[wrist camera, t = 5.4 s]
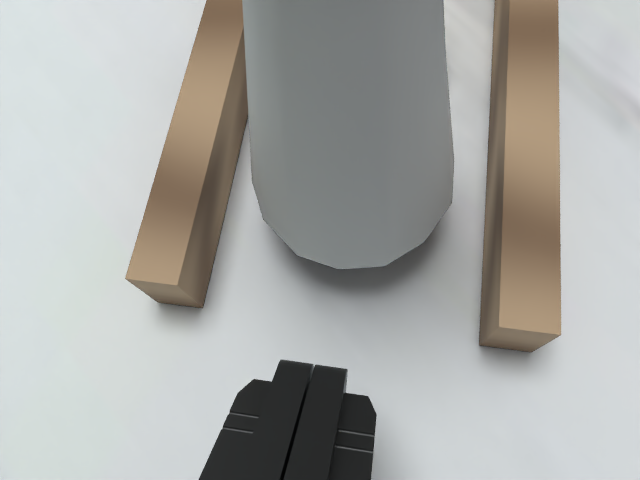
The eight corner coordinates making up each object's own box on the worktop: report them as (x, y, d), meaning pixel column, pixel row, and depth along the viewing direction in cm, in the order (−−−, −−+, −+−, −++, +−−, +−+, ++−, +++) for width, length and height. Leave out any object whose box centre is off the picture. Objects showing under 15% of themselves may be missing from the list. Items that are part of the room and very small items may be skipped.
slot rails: (531, 352, 16) (560, 335, 13) (157, 302, 17) (125, 278, 15) (536, -87, 22) (556, -150, 20) (263, -96, 23) (252, -157, 21)
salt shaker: (480, 209, 17) (744, -336, 5) (352, 329, 16) (321, -16, 4) (355, 103, 19) (341, -479, 7) (232, 204, 18) (-27, -284, 6)
